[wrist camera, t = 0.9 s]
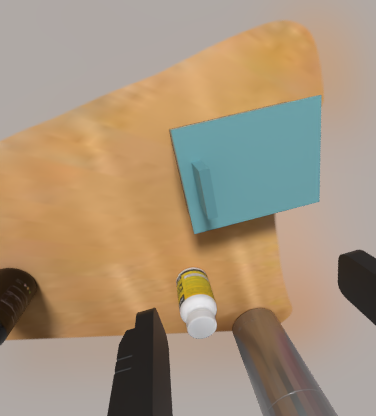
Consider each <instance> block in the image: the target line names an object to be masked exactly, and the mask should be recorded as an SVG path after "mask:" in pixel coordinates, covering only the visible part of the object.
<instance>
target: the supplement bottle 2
mask: <svg viewBox="0 0 376 416" xmlns="http://www.w3.org/2000/svg"><path fill="white" fill-rule="evenodd" d="M177 292H178V301H179V309H180V315H181V318H182V320H183V321H184V322H185V323H186V325H187V331H188V333H189V335H190V336H192V337H193V338H198V339H203V338H206V337H209V336H210V335H212V334H213V333H214V332H215V330H216V328H217V323H216V319H215V315H216V312H217V306H216V302H215V299H214V296H213V293H212V290H211V287H210V284H209V280H208V277H207V275H206V273H205V272H204V271H203V270H202V269H199V268H195V267H192V268H188V269H185V270H183V271H182V272H181V273H180V274H179V275H178V277H177Z"/></svg>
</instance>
